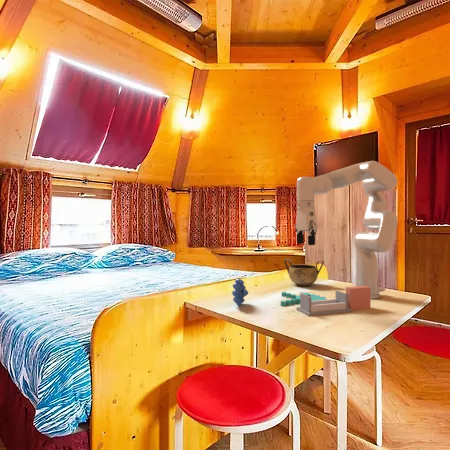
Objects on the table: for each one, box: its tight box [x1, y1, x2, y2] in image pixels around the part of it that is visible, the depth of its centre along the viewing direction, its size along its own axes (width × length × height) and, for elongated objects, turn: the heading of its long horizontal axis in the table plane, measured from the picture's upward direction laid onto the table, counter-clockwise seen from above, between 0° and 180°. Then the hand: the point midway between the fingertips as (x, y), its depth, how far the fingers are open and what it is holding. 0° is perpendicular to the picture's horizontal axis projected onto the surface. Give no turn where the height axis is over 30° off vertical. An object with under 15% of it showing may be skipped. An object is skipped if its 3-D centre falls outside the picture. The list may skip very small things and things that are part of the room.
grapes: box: [231, 278, 249, 307], centre depth 137 cm, size 12×7×12 cm, turn 156°
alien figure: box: [280, 291, 328, 307], centre depth 145 cm, size 20×2×20 cm
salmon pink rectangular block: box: [345, 285, 372, 311], centre depth 133 cm, size 10×3×9 cm, turn 107°
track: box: [296, 290, 353, 317], centre depth 129 cm, size 20×9×7 cm, turn 107°
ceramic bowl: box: [283, 258, 325, 287], centre depth 181 cm, size 22×17×15 cm
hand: (305, 244), depth 139 cm, fingers open, 9 cm apart
